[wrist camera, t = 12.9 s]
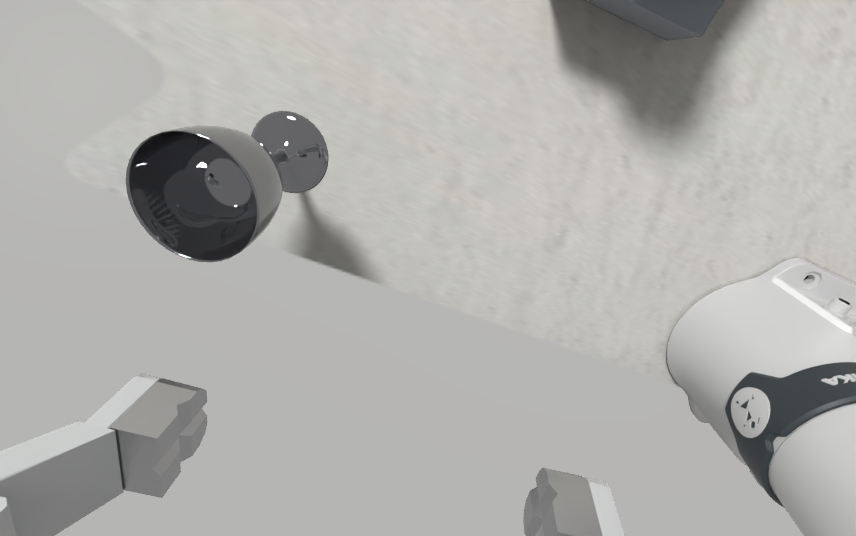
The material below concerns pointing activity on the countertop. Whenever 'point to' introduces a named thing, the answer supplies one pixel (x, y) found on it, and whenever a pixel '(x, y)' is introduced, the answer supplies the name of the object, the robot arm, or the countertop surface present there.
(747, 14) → the countertop surface
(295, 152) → the wine glass
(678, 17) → the charcoal block
